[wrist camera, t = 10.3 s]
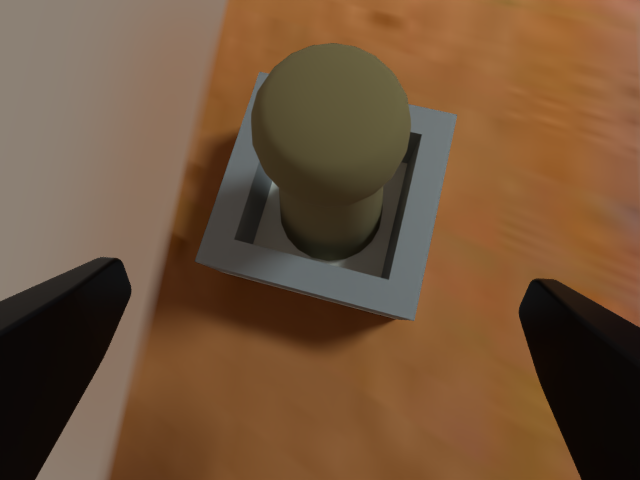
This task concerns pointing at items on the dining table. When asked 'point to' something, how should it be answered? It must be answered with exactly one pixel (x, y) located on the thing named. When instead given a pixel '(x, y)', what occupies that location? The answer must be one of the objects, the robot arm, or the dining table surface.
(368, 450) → the dining table surface
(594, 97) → the dining table surface
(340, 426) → the dining table surface
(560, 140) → the dining table surface
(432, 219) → the box
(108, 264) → the robot arm
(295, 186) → the cork
